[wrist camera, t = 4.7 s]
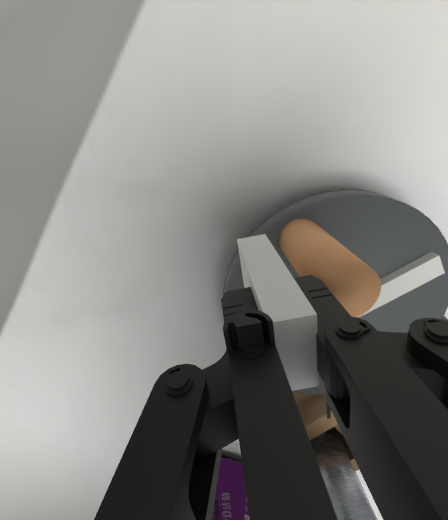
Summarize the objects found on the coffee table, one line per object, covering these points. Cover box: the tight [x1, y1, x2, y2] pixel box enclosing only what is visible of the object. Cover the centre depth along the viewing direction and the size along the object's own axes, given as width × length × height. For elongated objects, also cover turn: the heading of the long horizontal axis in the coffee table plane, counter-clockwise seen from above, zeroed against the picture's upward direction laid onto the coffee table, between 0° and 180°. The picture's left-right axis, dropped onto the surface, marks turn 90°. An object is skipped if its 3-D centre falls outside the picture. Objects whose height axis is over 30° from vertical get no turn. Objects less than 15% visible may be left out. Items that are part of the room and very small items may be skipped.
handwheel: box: [223, 190, 448, 395], centre depth 17 cm, size 15×15×8 cm
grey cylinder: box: [310, 427, 377, 520], centre depth 21 cm, size 4×4×13 cm
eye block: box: [292, 392, 359, 471], centre depth 26 cm, size 8×8×4 cm
